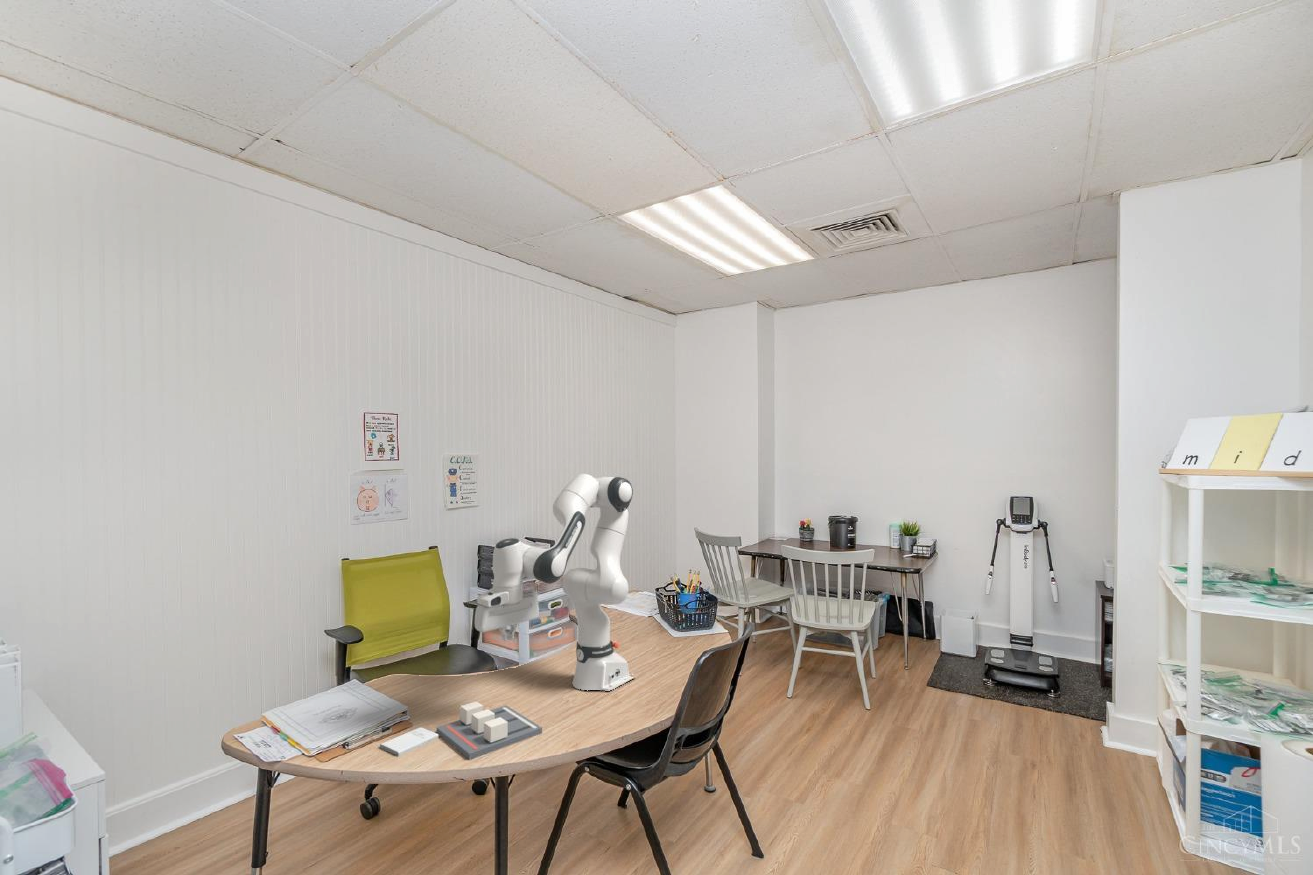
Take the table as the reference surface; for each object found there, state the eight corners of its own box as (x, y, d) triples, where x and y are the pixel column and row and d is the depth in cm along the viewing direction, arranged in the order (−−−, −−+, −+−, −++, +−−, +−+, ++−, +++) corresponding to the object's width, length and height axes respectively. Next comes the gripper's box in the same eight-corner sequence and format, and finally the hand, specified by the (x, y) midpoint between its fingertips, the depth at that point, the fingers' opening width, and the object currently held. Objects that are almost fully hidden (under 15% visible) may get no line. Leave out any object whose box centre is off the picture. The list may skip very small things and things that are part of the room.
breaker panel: (506, 710, 184) (506, 705, 184) (542, 732, 170) (542, 727, 170) (436, 732, 169) (436, 726, 169) (469, 759, 154) (469, 753, 154)
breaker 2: (500, 731, 166) (500, 717, 166) (507, 736, 163) (507, 721, 163) (483, 737, 162) (483, 722, 163) (490, 742, 160) (491, 727, 160)
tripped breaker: (487, 723, 171) (487, 708, 171) (494, 727, 168) (494, 713, 168) (471, 728, 167) (471, 714, 168) (478, 733, 165) (478, 718, 165)
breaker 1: (476, 714, 176) (476, 701, 176) (482, 719, 173) (483, 705, 173) (460, 720, 173) (460, 706, 173) (466, 724, 170) (466, 710, 170)
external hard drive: (379, 749, 160) (420, 731, 170) (398, 758, 155) (438, 739, 166) (379, 743, 160) (420, 725, 170) (398, 752, 155) (438, 733, 166)
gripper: (531, 585, 189) (532, 629, 189) (471, 598, 175) (472, 645, 175) (543, 589, 185) (543, 633, 185) (482, 602, 170) (482, 650, 170)
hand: (508, 639), depth 180 cm, fingers closed
